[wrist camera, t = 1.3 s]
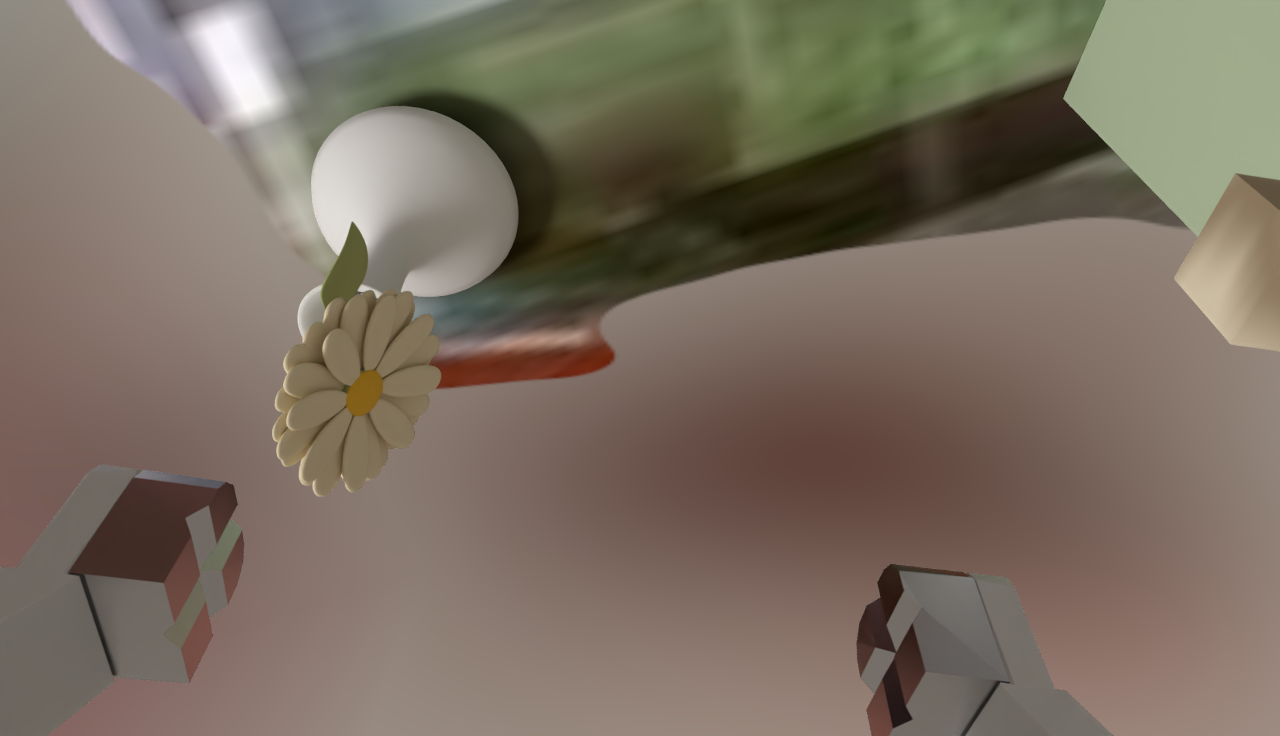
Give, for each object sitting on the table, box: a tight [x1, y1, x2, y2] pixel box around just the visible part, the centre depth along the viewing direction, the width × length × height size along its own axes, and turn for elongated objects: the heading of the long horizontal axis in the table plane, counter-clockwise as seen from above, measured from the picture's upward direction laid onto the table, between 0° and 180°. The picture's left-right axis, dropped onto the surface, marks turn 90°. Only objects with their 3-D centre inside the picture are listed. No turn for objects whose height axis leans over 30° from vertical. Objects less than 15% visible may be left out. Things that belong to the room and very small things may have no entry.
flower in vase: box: [272, 106, 519, 497], centre depth 41 cm, size 13×11×25 cm
